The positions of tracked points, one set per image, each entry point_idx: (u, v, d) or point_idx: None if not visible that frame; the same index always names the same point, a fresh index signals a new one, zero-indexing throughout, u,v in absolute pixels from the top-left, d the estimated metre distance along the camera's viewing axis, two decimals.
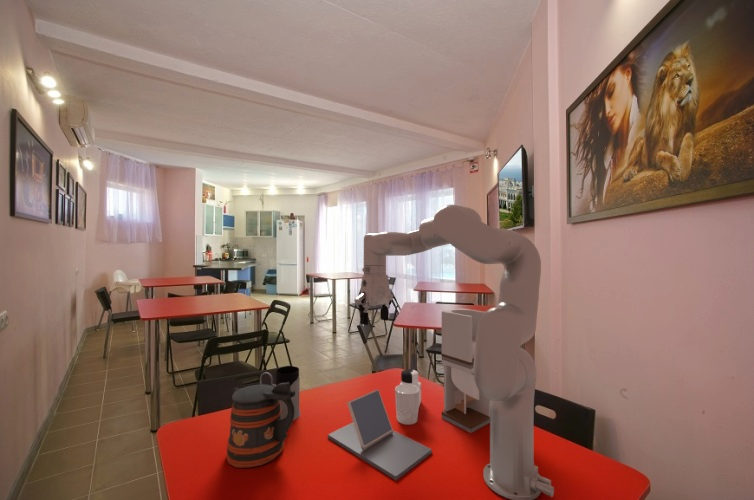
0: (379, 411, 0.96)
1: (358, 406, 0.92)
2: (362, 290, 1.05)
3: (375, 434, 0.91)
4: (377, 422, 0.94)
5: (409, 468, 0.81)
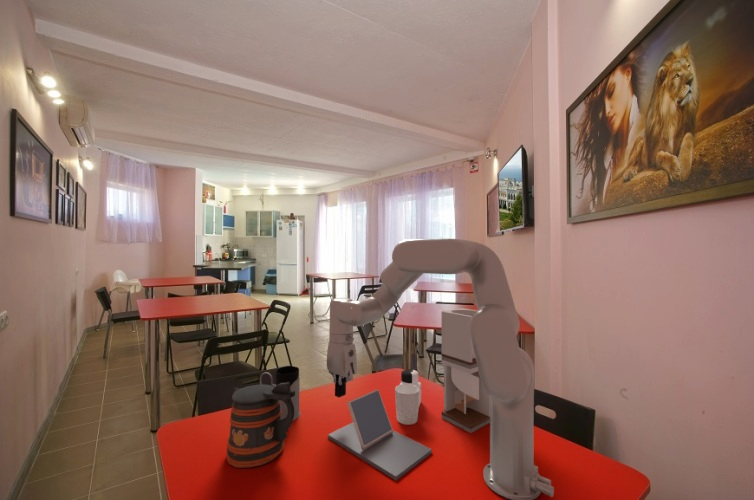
0: (379, 411, 0.96)
1: (358, 406, 0.92)
2: (349, 361, 0.99)
3: (375, 434, 0.91)
4: (377, 422, 0.94)
5: (409, 468, 0.81)
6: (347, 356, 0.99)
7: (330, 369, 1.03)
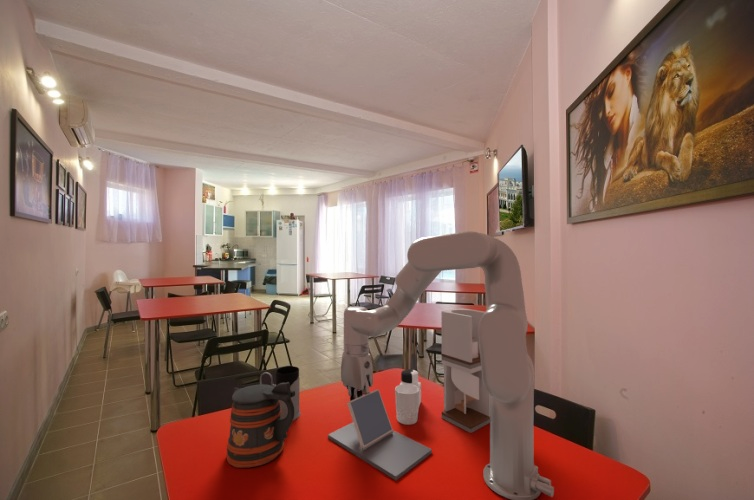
0: (379, 411, 0.96)
1: (358, 406, 0.92)
2: (365, 373, 0.94)
3: (375, 434, 0.91)
4: (378, 422, 0.94)
5: (409, 468, 0.81)
6: (363, 368, 0.94)
7: (344, 381, 0.99)
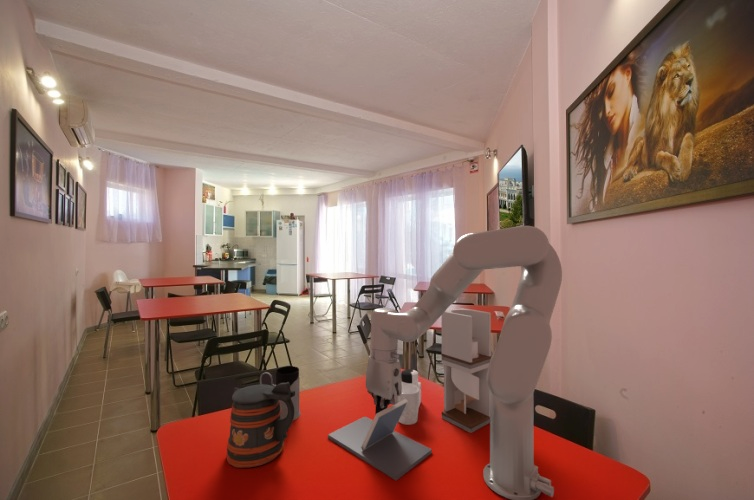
0: (394, 420, 0.92)
1: (383, 419, 0.86)
2: (394, 382, 0.86)
3: (379, 438, 0.90)
4: (387, 428, 0.91)
5: (409, 468, 0.81)
6: (392, 376, 0.86)
7: (370, 389, 0.91)
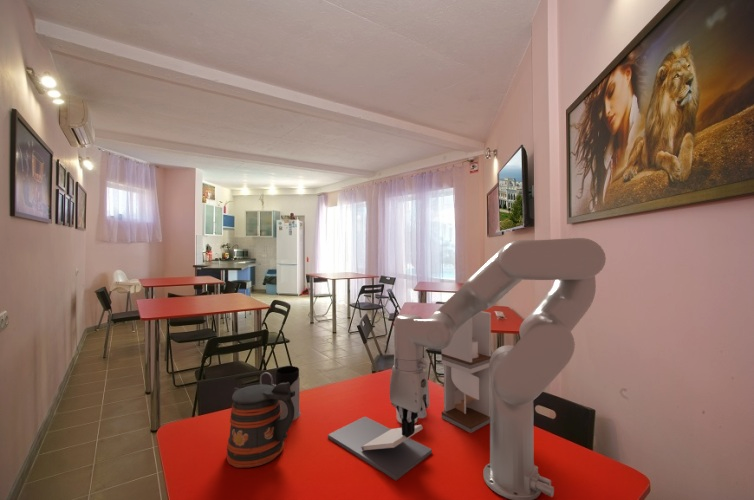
0: None
1: None
2: (422, 393, 0.81)
3: None
4: None
5: (409, 468, 0.81)
6: (419, 387, 0.80)
7: (395, 401, 0.85)
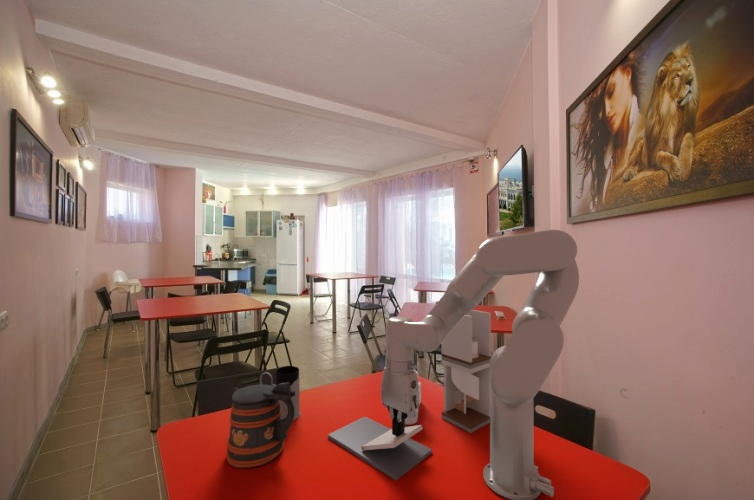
0: None
1: None
2: (412, 394, 0.83)
3: None
4: None
5: (409, 468, 0.81)
6: (410, 388, 0.82)
7: (385, 402, 0.87)
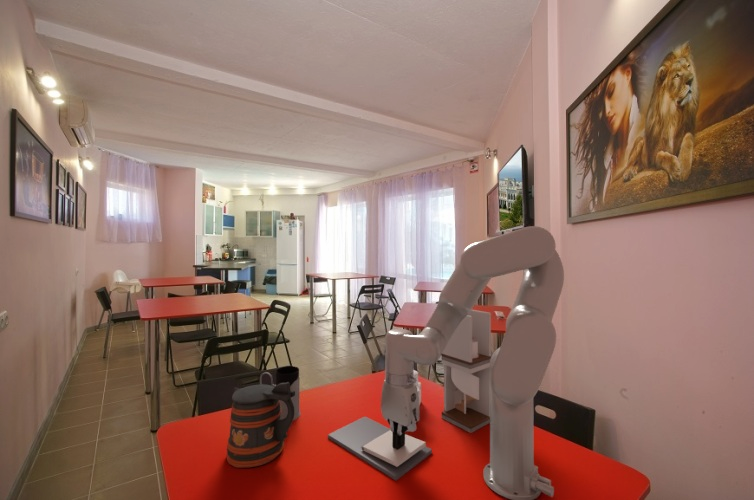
0: None
1: None
2: (412, 407, 0.82)
3: None
4: None
5: (409, 468, 0.81)
6: (409, 401, 0.82)
7: (386, 415, 0.87)
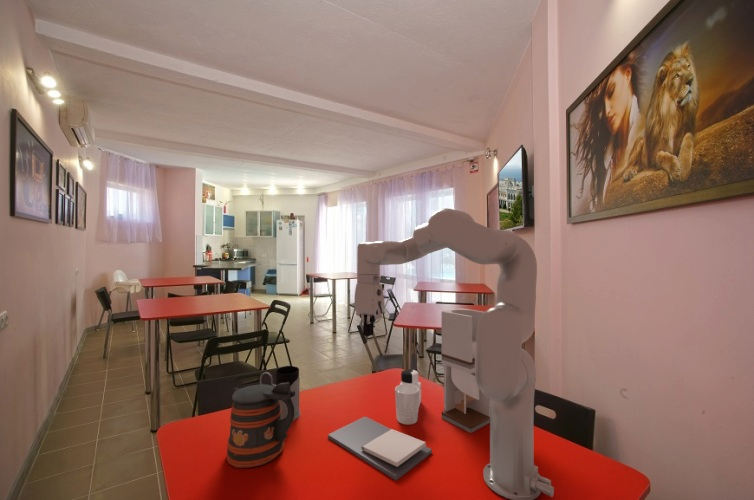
0: None
1: None
2: (377, 300, 1.04)
3: None
4: None
5: (409, 468, 0.81)
6: (375, 295, 1.04)
7: (358, 310, 1.08)
